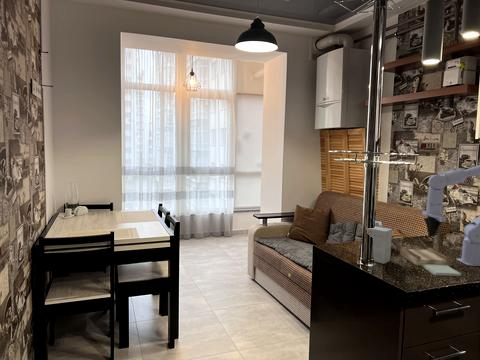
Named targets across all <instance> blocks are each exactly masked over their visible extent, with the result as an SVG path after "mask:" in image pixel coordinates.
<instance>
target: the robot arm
mask: <svg viewBox="0 0 480 360" xmlns="http://www.w3.org/2000/svg"><path fill="white" fill-rule="evenodd" d="M477 175H480V164H479V165H475V166H473V167H470V168H467V169H463V168H460V167H458V168H456V167H454V168H452V169H451V170H448V171H446V172H443V171H440V172H439V174H432V175H430V177H428V181H427V184H428V185H429V186H428V192H427V199H426V210H422V211H421V212H422V213H421V215H422V216H425V217H424V218H423V220H424V222H425V224H426V229H427V230H426V231H427V234H428V236H430V237H435V236H436V234H437V231H438V230H439V227H440V226H441V224H442V223H446V222H447V217H446V216H445V215H443V214H442V213H443V203H444V195H445V194H444V188H445V187H449V186H452V185H456V184H460V183H463V182H464V183H465V181H466V180H467V178H470V177H474V176H477ZM463 235H465V237H464V238H463V241H462V249H461V251H462V252H461V258H460V257H459V258H456V261H459V262H460V263H463V264H464V265H466V266H471V267H480V214H479V215H478V217H476V218H474V219H473V220H472V221H471V222H470V223H468V224H466V225H465V226H464V227H463Z"/></svg>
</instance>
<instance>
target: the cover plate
mask: <svg viewBox="0 0 480 360" xmlns="http://www.w3.org/2000/svg"><path fill="white" fill-rule="evenodd" d="M420 267H422V268H424V269H425V270H427V272H430V273H431V274H432V275H434V276H449V277H462V273H461V272H459V271H457V270H456V269H454V268H452V267H449V266H447V265H444V264H422V263H421V266H420Z"/></svg>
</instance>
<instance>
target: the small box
mask: <svg viewBox="0 0 480 360" xmlns="http://www.w3.org/2000/svg"><path fill="white" fill-rule="evenodd" d="M366 230H367V234H368V235H369V236H370V237H372V238H373V258H374V261H373V262H375V263H379V264H383V265H384V264H386V263H388V262H390V261H391V253H392V239H393V238H392V237H393V229H392V228H386V227H383V226H382V227H376V226H375V227H374V228H367V227H366Z"/></svg>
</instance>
